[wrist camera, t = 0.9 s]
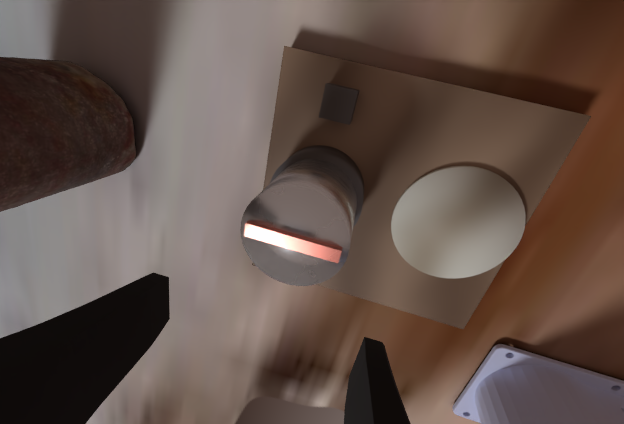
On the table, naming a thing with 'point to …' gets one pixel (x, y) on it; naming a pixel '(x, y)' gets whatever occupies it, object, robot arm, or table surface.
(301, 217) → the knob
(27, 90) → the candle
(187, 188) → the table surface
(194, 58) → the table surface
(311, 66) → the base board
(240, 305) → the table surface
